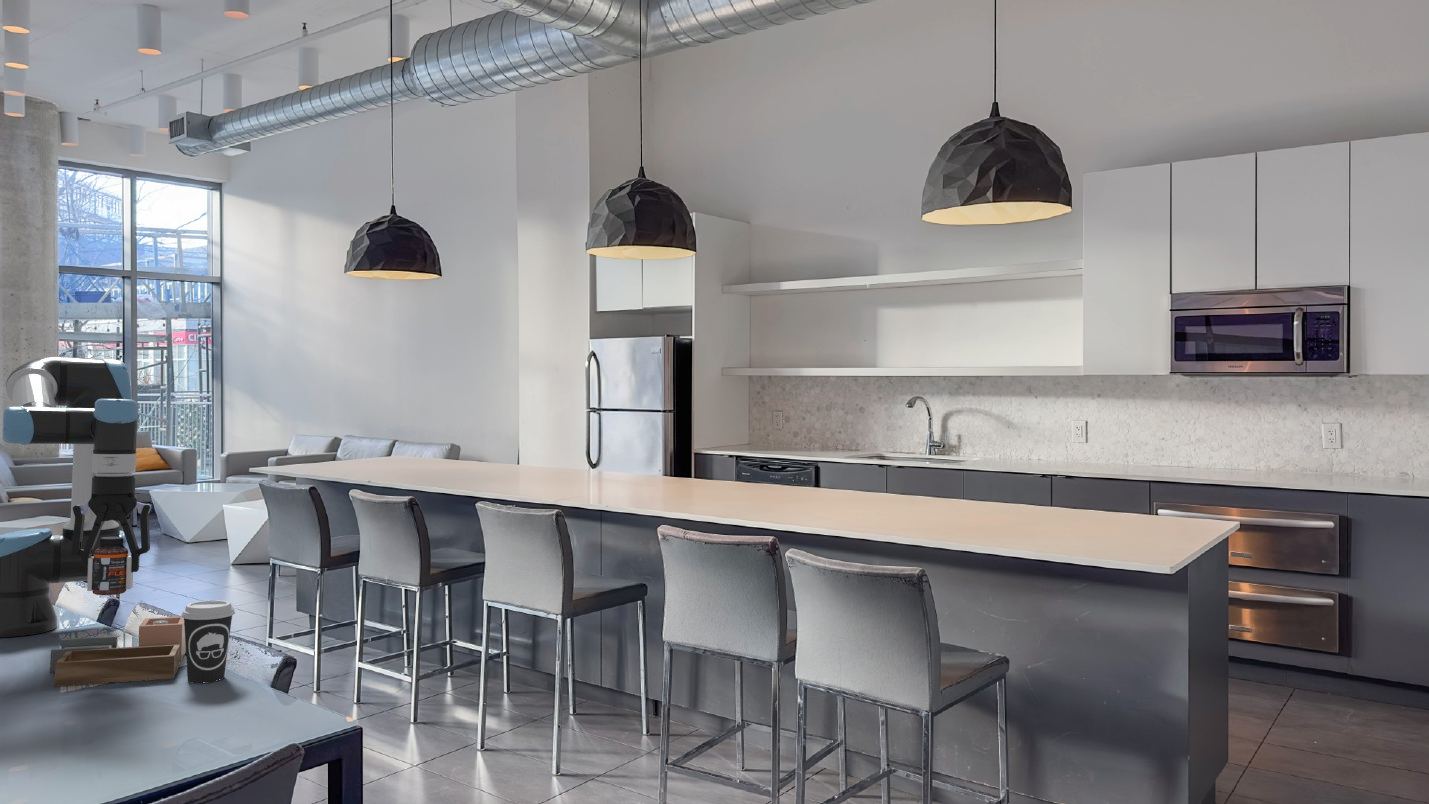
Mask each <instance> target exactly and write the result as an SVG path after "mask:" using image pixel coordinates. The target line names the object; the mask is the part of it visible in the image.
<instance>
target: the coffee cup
mask: <svg viewBox="0 0 1429 804" xmlns="http://www.w3.org/2000/svg"><path fill="white" fill-rule="evenodd" d="M235 614H236V611H235V609H234V607H233V606H232V603H231V601H229V600H222V599H221V600H219V599H211V600H210V599H209V600H199V601H193V602H189V603H187V604H186V606H185V608H184V609H183V610H182V613H181V616H180V617H182V618H184V627H185V643H186V651H185V657H186V658H185V659H186V673H187V674H186V675H187V682H189V683H190V682H193V683H192V684H204V683H203V682H211V683H214V682H213V681H216V680H219V679H222V678H223V677H224V678H225V675H226V674H225V673H226V665H227V658H228V651H229V641H230V635H231V626H232V620H233V616H234V615H235ZM224 678H223V679H224ZM223 679H222V680H223ZM219 681H220V680H219ZM216 682H217V681H216Z"/></svg>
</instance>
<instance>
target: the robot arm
mask: <svg viewBox="0 0 1429 804" xmlns="http://www.w3.org/2000/svg"><path fill="white" fill-rule="evenodd" d="M5 384H6V385H5V391H6V394H7V396H8V399H10V401H11V402H12V406H7V407H5V408H4V409H3V415H2V440H3V442H4V443H6V444H18V445H22V446H23V445H73V451H72V452H73V453H72V474H71V475H72V478H71V501H70V504H71V505H70V519H69V520H68V521H66V523H65V524H63V525H62V533H59V534H58V533H53V531H52V528H49V527H48V528H47V527H44V528H43V527H42V528H30V529H23V530H17V531H11V532H7V533H4V534H3V533H2V534H0V638H13V637H24V636H32V635H38V634H43V633H48V632H49V631H52V630H55V629H57V627H58V617H57V614H56V610H55V608H54V605H53V602H52V600H51V596H50V586H51V585H50V584H61V583H62V584H63V583H74V582H86V583H87V584H86V589H87V590H86V591H87V592H92V586H93V564H94V552H95V550H96V549H98V548H99V547H100V545H101V544H100V539H101V538H102V537H123V545H124V547H125V548H126V543H127V546H128V549H129V553H130V555H128V557H127V570H126V590H131V589H132V588H133V584H134V581H133V579H134V573H138V571H139V569H140V556H141V555H143V554H146V553H148V552H149V551H150V550H151V538H150V536H151V534H150V513H151V510H152V508H153V507H152V504H151V503H142V502H140V501H138V499H137V498H136V476H134V475H133V474H134V473H136V470H137V434H138V419H139V414H138V403H137V401H136V400H135V399H132V387H131V378H130V375H129V370H128V367H127V365H126V364H125V363H124V362H123V361H122V360H118V359H117V360H116V359H109V358H92V357H91V358H89V357H87V358H86V357H66V356H65V357H64V356H63V357H62V356H61V357H60V356H46V357H40V358H36V359H32V360H29V361H27V362H25V363H23V364H20V365H19V366H18V367H16V368H15V369H14V370H13V371H12V372H10V374H9V376H8V377H7V380H6V383H5ZM57 406H59V407H57ZM60 406H64V407H60ZM134 509H137V513H138V514H139V515H140V517H139V523H140V524H139V525H140V547H139V545H138V541H137V539H136V535H135V531H134V530H133V529H134V528H133V526H132V522H131V519H130V515H131V513H132V512H133V511H134ZM118 522H119V523H118ZM120 526H121V528H122V530H120Z"/></svg>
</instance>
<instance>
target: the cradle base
mask: <svg viewBox="0 0 1429 804" xmlns="http://www.w3.org/2000/svg"><path fill="white" fill-rule="evenodd" d="M118 638H119V637H118V635H110V636H109V635H107V636H106V635H105V636H93V637H91V636H89V637H72V638H62V639H61V641H60V645H61V646H60V648H52V649H51V650H50V663H49V665H50V668H49V673H51V674H53V673H54V674H55V663H56V662H57V661H58V660H59V659H60V658H61V657H62V656H63V655H64V654H65V653H66V652H67V651H69V650H87V649H104V648H110V646H101V645H112V648H118ZM84 646H100V647H84ZM66 647H82V648H66ZM64 648H65V649H64Z"/></svg>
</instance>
